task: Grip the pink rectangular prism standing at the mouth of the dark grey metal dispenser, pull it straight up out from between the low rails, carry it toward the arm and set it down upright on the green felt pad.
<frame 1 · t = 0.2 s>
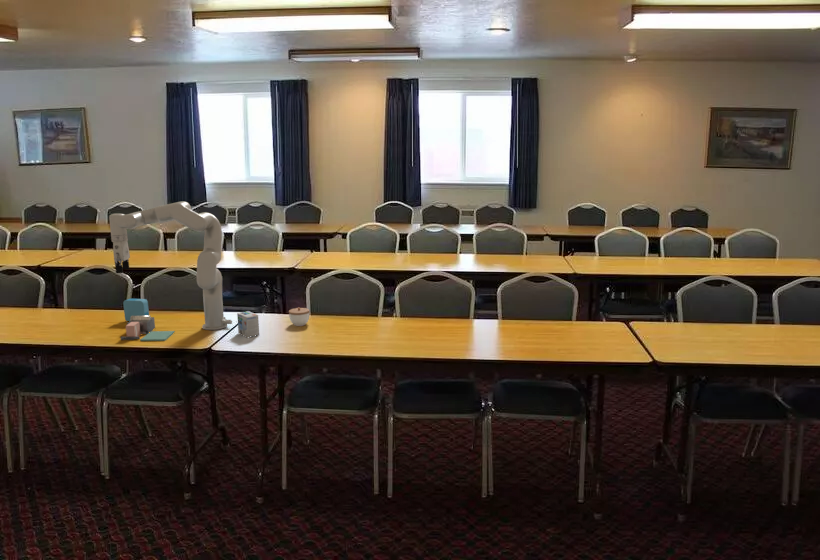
hand: (122, 271, 338), 31 cm above the table, tool pointing down, fingers open, 9 cm apart
dispenser: (133, 337, 329), on the table
lidded jar: (299, 324, 349), on the table
pink rectangular prism: (133, 337, 329), on the table
data package: (137, 321, 359), on the table
pad: (157, 336, 329), on the table
light bulb box: (249, 334, 332), on the table
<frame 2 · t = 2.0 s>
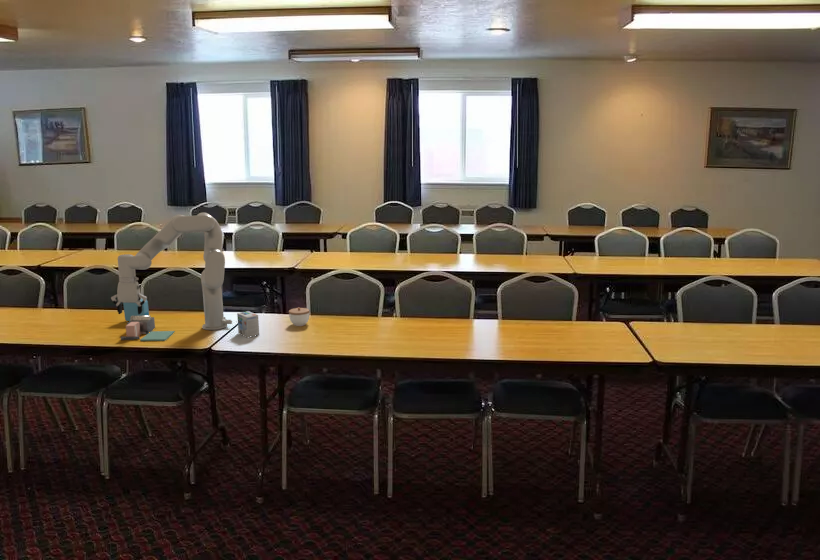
hand: (130, 313, 326), 12 cm above the table, tool pointing down, fingers open, 9 cm apart
nothing on the table moved.
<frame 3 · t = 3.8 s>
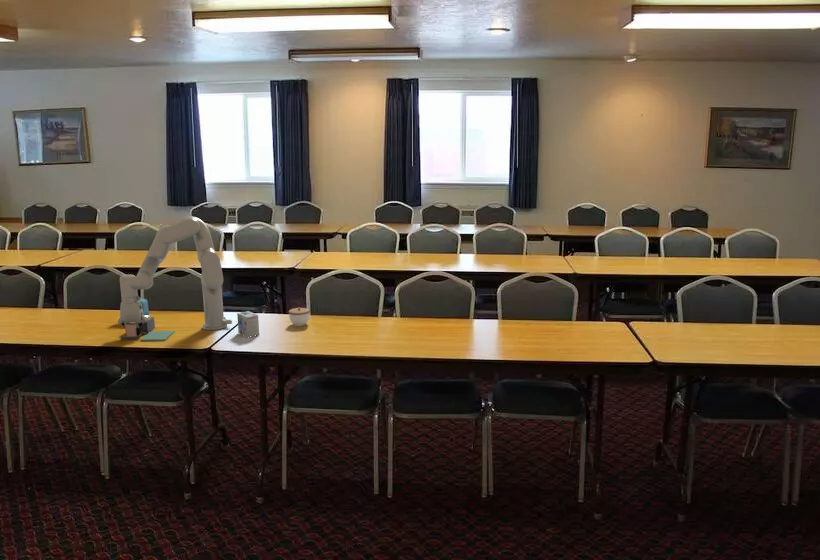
hand: (133, 334, 329), 1 cm above the table, tool pointing down, fingers closed on pink rectangular prism, 4 cm apart
pink rectangular prism: (133, 337, 329), on the table, touching gripper
everything else where it was.
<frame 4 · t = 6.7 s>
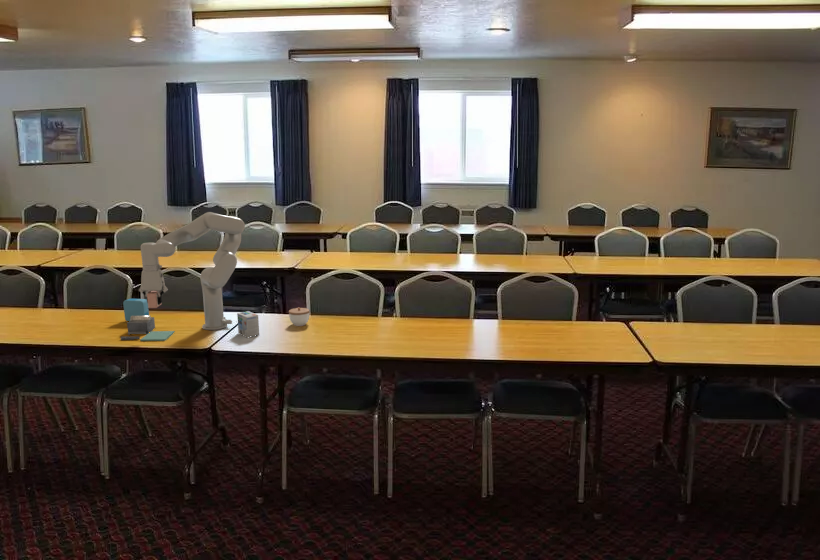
hand: (154, 303, 326), 17 cm above the table, tool pointing down, fingers closed on pink rectangular prism, 4 cm apart
pink rectangular prism: (155, 306, 326), point 16 cm above the table, touching gripper
everything else where it was.
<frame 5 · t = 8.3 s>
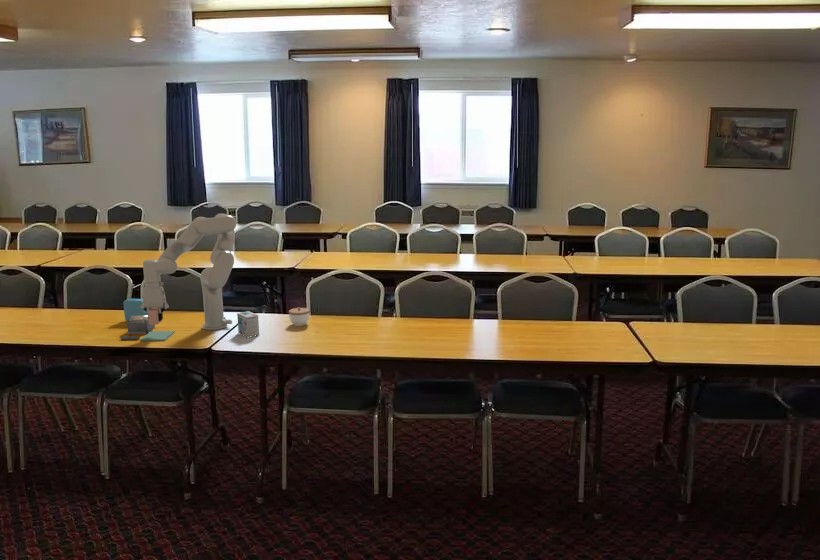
hand: (155, 320, 327), 9 cm above the table, tool pointing down, fingers closed on pink rectangular prism, 4 cm apart
pink rectangular prism: (155, 322, 328), point 7 cm above the table, touching gripper
everything else where it was.
when the fingers open (3 cm above the table, at t = 9.7 s): pink rectangular prism drops 1 cm, resting on pad.
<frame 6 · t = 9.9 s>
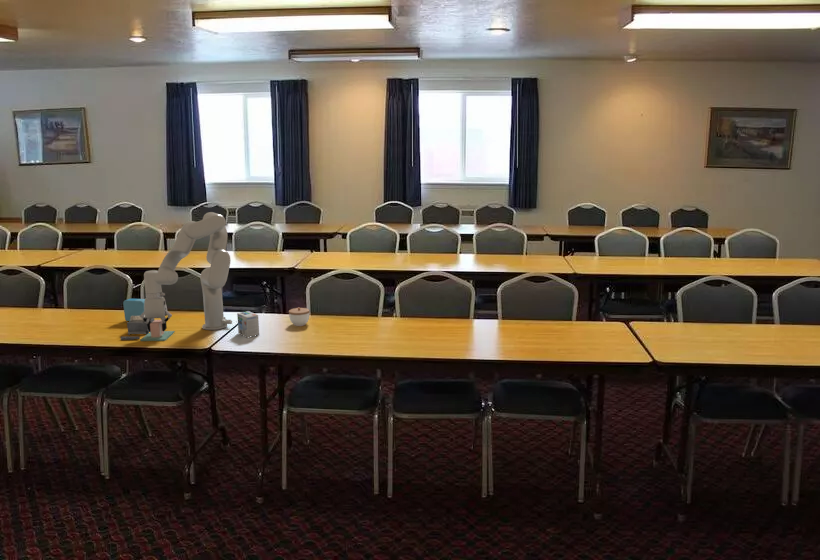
hand: (157, 330, 329), 3 cm above the table, tool pointing down, fingers open, 6 cm apart
pink rectangular prism: (157, 335, 329), point 1 cm above the table, touching pad
everything else where it was.
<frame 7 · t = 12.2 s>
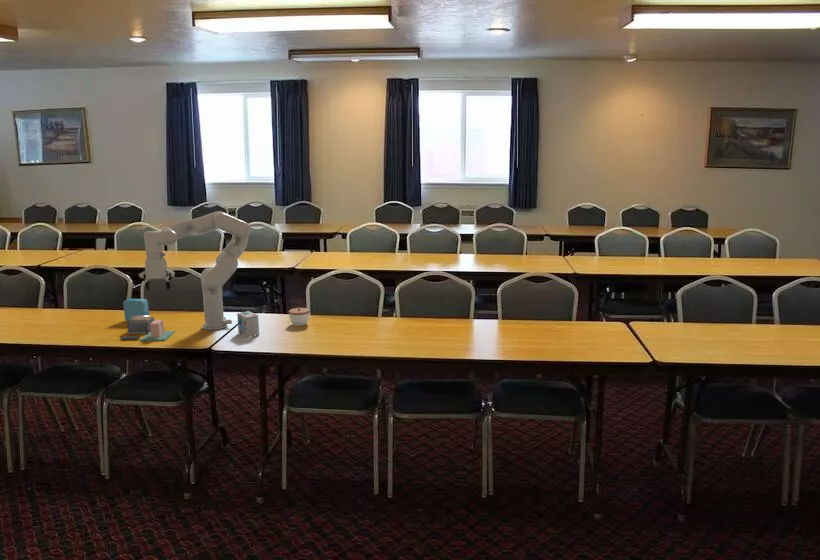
hand: (158, 289, 329), 23 cm above the table, tool pointing down, fingers open, 9 cm apart
nothing on the table moved.
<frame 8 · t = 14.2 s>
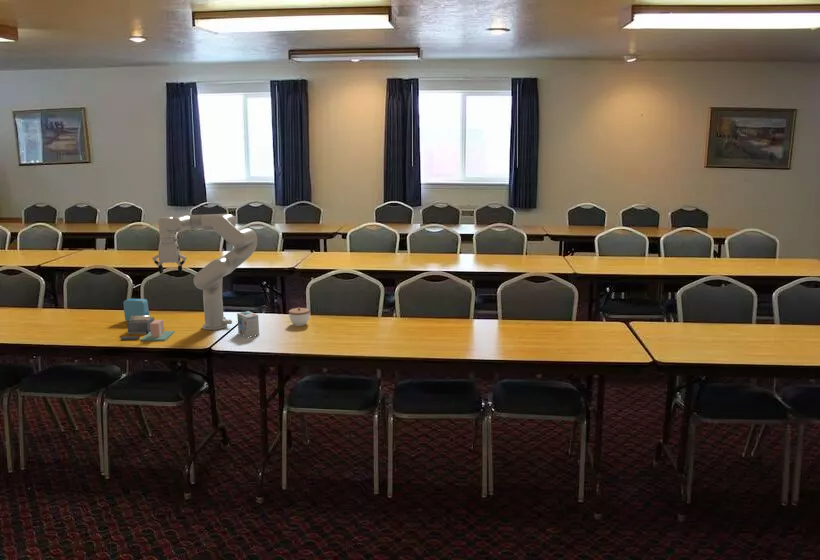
hand: (170, 273, 343), 28 cm above the table, tool pointing down, fingers open, 9 cm apart
nothing on the table moved.
at the end: pink rectangular prism inside the target area on the pad (0.1 cm from its centre), point 0.8 cm above the pad's base; pink rectangular prism tilted 0°; the gripper is holding nothing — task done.
